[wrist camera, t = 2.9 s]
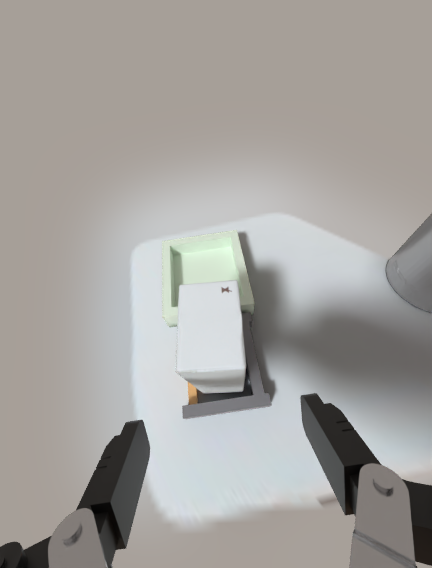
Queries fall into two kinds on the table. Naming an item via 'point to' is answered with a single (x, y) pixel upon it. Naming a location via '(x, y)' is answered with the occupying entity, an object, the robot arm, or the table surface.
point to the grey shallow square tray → (234, 404)
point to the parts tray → (202, 268)
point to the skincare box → (211, 337)
